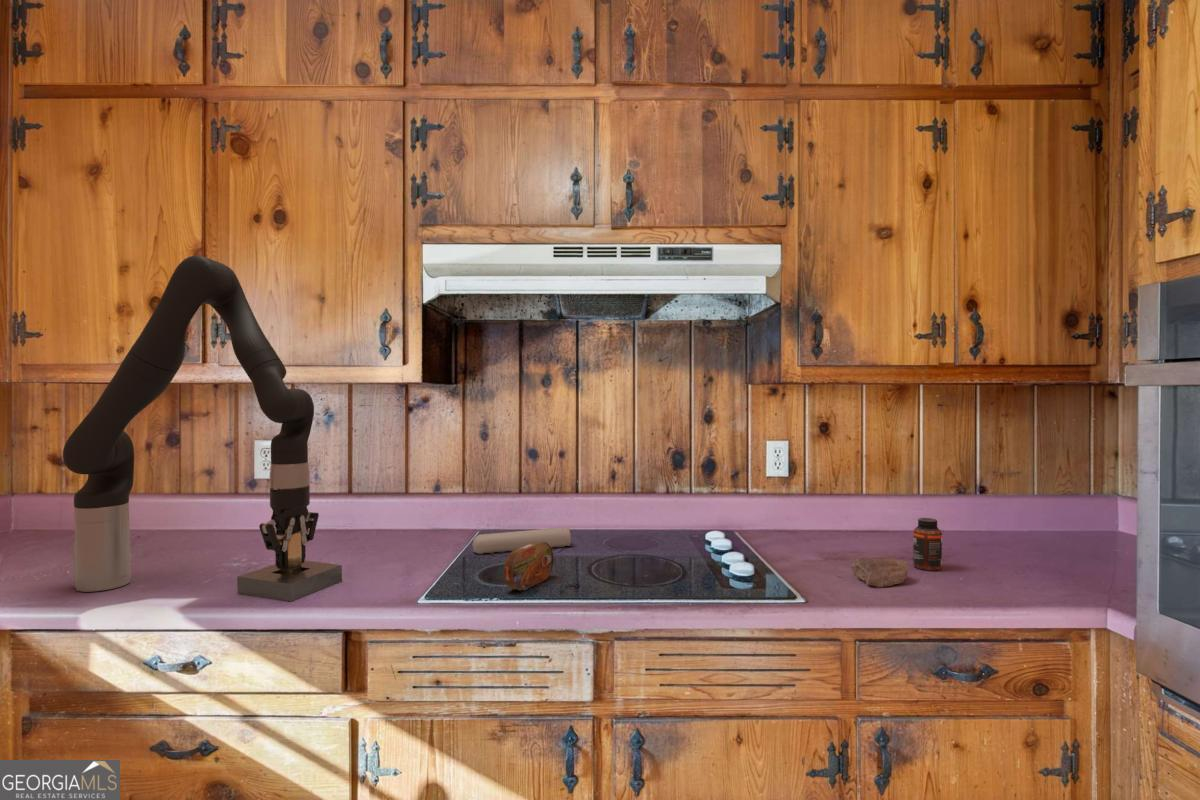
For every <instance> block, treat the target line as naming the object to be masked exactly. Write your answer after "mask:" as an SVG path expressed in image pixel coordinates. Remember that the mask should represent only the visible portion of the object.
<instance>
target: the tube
mask: <svg viewBox="0 0 1200 800" xmlns="http://www.w3.org/2000/svg"><path fill="white" fill-rule="evenodd" d="M571 537H572V535H571V531H570V527H568V526H565V525H564V527H555V528H542V529H532V530H520V531H507V532H496V533H495V532H494V533H493V532H492V533H483V534H477V535H476V536H475V537H474V539H473V541H472V544H471V545H472V550H473V552H474V553H476V554H478V555H484V554H483V553H490V554H495V553H494V552H501V553H505V552H504V551H514V550H516V549H519V548H521V547H524V546H526V545H529V544H531V543H534V542H546V543H548V544H549V545H550V547H551V549H554V548H553V547H558V548H566V547H565V546H571V541H572V540H571Z"/></svg>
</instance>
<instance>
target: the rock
mask: <svg viewBox="0 0 1200 800" xmlns="http://www.w3.org/2000/svg"><path fill="white" fill-rule="evenodd" d="M850 568H851V570H852V572H853V573H854V574H855V575H856V578H857V579H859V580H862V581H863V582H865V583H866V585H867V586H872V587H876V588H885V587H892V586H894V585H899V584H902V583H904V581H905V579H906V578H907V577H908V574H909V572H908V569H909V567H908V562H907V561H905V560H901V559H898V558H892V557H889V556H880V557H872V558H857V559H856V560H855V563H852V564H851V566H850Z"/></svg>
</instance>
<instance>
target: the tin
mask: <svg viewBox="0 0 1200 800" xmlns="http://www.w3.org/2000/svg"><path fill="white" fill-rule="evenodd" d="M503 566H504V567H503V569H504V570H503V571H504V572H503V574H504V580H505V581H504V582H505V584H506V586H507V587H508V588H509V589H511V590H514V591H515V590H516V591H519V592H522V591H521V590H523V589H525V588H527V587H529V586H531V585H534V584H537V583H539V584H541V583H543V582H545V581H546V580H548V578H549V577H550V576H551V573H552V571H553V568H554V552H553V548H551V547H550V545H549V544H548V543H546V542H534V543H531V544H529V545H526V546H524V547H521V548H519V549H516V550H514V551H512V552H509V554H508V555H507V557H506V559H505V562H504V565H503ZM544 580H545V581H544ZM542 581H543V582H542ZM540 582H541V583H540ZM537 585H538V584H537Z"/></svg>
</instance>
